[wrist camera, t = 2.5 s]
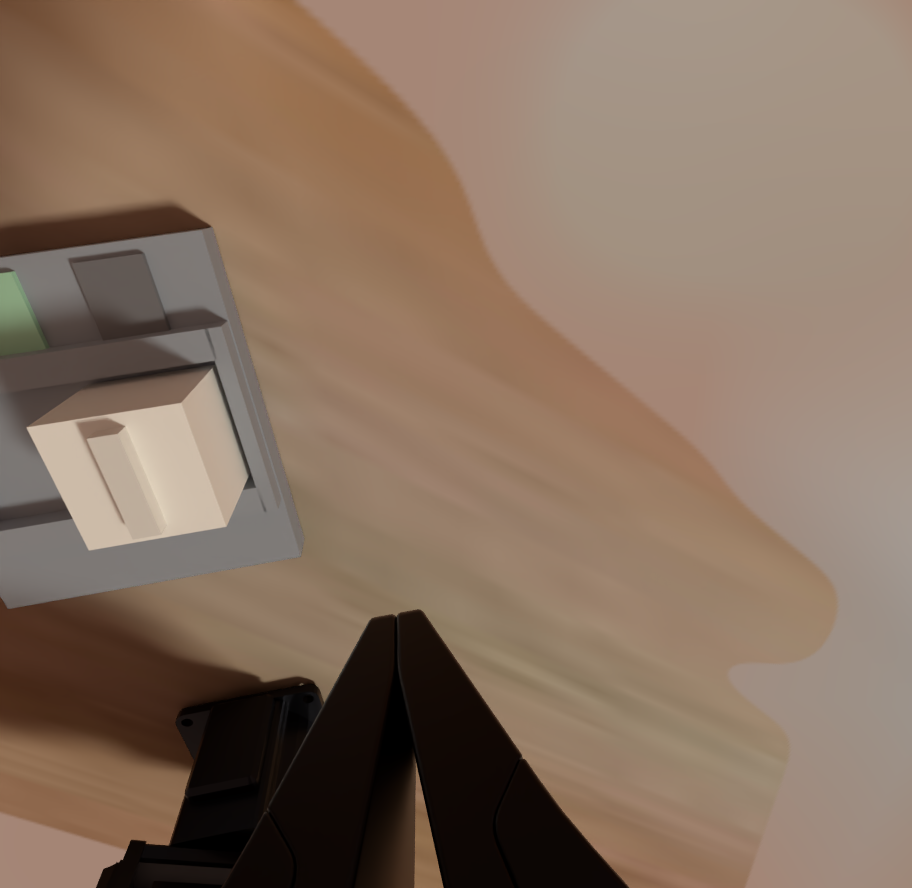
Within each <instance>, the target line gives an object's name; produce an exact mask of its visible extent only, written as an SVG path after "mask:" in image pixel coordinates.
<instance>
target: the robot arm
mask: <svg viewBox="0 0 912 888" xmlns="http://www.w3.org/2000/svg"><path fill="white" fill-rule="evenodd" d="M306 695H310V696H306ZM176 726H177V728H178V730H179V732H180V734H181V736H182V738H183V740H184V741H185V743H186V745H187V747H188V749H189V751H190V753H191V755H192V757H193V759H194V764H193V767H192V770H191V773H190V776H189V779H188V783H187V786H186V789H185V796H184V799H183V802H182V805H181V808H180V812H179V815H178V818H177V821H176V824H175V828H174V831H173V834H172V837H171V840H170V844H169V846H167V845H154V844H146V841H140V840H131V841H130V844H129V846H128V849H127V851H126V853H125V856H124V859H123V860H120V862H119V863H116V864H114V865H112V866H110V867H108V868H105V869H103V872H102V874H101V877H100V879H99V882H98V884H97V887H96V888H414V866H415V785H416V763H417V768H418V773H419V777H420V782H421V786H422V791H423V795H424V800H425V805H426V809H427V814H428V818H429V823H430V827H431V832H432V837H433V841H434V846H435V850H436V855H437V859H438V864H439V868H440V873H441V878H442V882H443V887H444V888H629V887H628V886H627V884H626V883H625V882H624V881H623V880H622V879H621V878H620V877H619V876H618V874H617V873H616V872H615V871H614V870H613V869H612V868H611V867H610V865H609V864H608V863H607V862H606V861H605V860H604V859H603V858H602V857H601V855H600V854H599V853H598V852H597V851H596V850H595V849H594V848H593V846H592V845H591V844H590V843H589V842H588V841H587V839H586V838H585V837H584V836H583V835H582V833H581V832H580V831H579V830H578V829H577V828H576V826H575V825H574V824H573V823H572V822H571V820H570V819H569V818H568V817H567V816H566V814H565V813H564V812H563V811H562V809H561V808H560V807H559V805H558V804H557V803H556V801H555V800H554V799H553V797H552V796H551V795H550V793H549V792H548V791H547V789H546V788H545V787H544V785H543V784H542V783H541V781H540V780H539V778H538V777H537V775H536V774H535V773H534V771H533V770H532V768H531V767H530V765H529V764H528V762H527V761H526V760H525V759H523V758H522V754H521V753H520V751H519V750H518V748H517V747H516V746H515V744H514V743H513V741H512V740H511V738H510V737H509V735H508V734H507V733H506V731H505V730H504V728H503V727H502V725H501V724H500V722H499V721H498V720H497V718H496V717H495V715H494V714H493V712H492V711H491V709H490V708H489V706H488V705H487V704H486V702H485V701H484V699H483V698H482V696H481V695H480V693H479V692H478V691H477V689H476V688H475V686H474V685H473V683H472V682H471V680H470V679H469V678H468V676H467V675H466V673H465V672H464V670H463V669H462V667H461V666H460V664H459V663H458V662H457V660H456V659H455V657H454V656H453V654H452V653H451V651H450V650H449V649H448V647H447V646H446V644H445V643H444V641H443V640H442V638H441V637H440V636H439V634H438V633H437V631H436V630H435V628H434V627H433V625H432V624H431V622H430V621H429V620H428V618H427V617H426V615H425V614H424V612H423V611H422V610H419V609H417V610H412V611H406V612H401V613H399V614H398V615H397V617H396V616H395V615H393V614H390V615H385V616H380V617H374V618H372V619H371V620H370V621H369V622H368V624H367V626H366V628H365V630H364V631H363V633H362V635H361V637H360V639H359V641H358V642H357V644H356V646H355V648H354V650H353V652H352V653H351V655H350V657H349V659H348V661H347V662H346V664H345V666H344V668H343V670H342V672H341V673H340V675H339V677H338V679H337V681H336V683H335V684H334V686H333V688H332V690H331V692H330V694H329V695H328V697H327V699H326V701H325V703H324V701H323V698H322V695H321V692H320V690H319V688H318V687H317V686H315V685H312V684H308V685H302V686H296V687H291V688H286V689H281V690H276V691H271V692H265V693H260V694H255V695H250V696H245V697H240V698H234V699H229V700H224V701H219V702H214V703H209V704H203V705H198V706H193V707H188V708H184V709H182V710H181V711H180V712H179V714H178V717H177V719H176ZM415 759H416V762H415Z"/></svg>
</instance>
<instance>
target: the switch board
mask: <svg viewBox="0 0 912 888" xmlns="http://www.w3.org/2000/svg"><path fill="white" fill-rule="evenodd" d="M210 365H216V368H217V371H218V374H219V377H220V380H221V383H222V386H223V389H224V392H225V396H226V399H227V402H228V405H229V408H230V411H231V414H232V417H233V420H234V423H235V426H236V429H237V432H238V435H239V438H240V441H241V445H242V448H243V451H244V454H245V457H246V460H247V463H248V466H249V469H250V474H249V477H248V479H247V481H246V483H245V486H244V488H243V490H242V493H241V495H240V497H239V499H238V502H237V504H236V506H235V509H234V511H233V513H232V515H231V518H230V520H229V522H228V525H227V527H222V528H216V529H211V530H205V531H199V532H193V533H188V534H182V535H176V536H170V537H165V538H159V539H153V540H147V541H142V542H136V543H130V544H124V545H119V546H113V547H107V548H101V549H95V550H90V551H89V550H88V548H87V546H86V544H85V542H84V540H83V538H82V536H81V534H80V532H79V530H78V528H77V526H76V524H75V522H74V520H73V518H72V516H71V514H70V512H69V510H68V508H67V506H66V504H65V503H64V501H63V499H62V497H61V495H60V493H59V491H58V489H57V487H56V485H55V483H54V481H53V479H52V477H51V475H50V473H49V471H48V469H47V467H46V465H45V463H44V461H43V459H42V457H41V455H40V453H39V451H38V449H37V447H36V445H35V444H34V442H33V440H32V438H31V436H30V434H29V432H28V430H27V428H26V427H28V426H29V425H31V424H32V423H33V422H35V421H36V420H38V419H39V418H41V417H42V416H44V415H45V414H46V413H48V412H49V411H51V410H52V409H54V408H55V407H57V406H58V405H59V404H61V403H62V402H64V401H65V400H67V399H68V398H69V397H71V396H72V395H74V394H75V393H77V392H78V391H80V390H81V389H82V388H84V387H85V386H87V385H88V384H93V383H100V382H106V381H113V380H119V379H126V378H132V377H139V376H145V375H152V374H158V373H164V372H171V371H177V370H184V369H190V368H197V367H203V366H210ZM303 544H304V536H303V532H302V529H301V526H300V522H299V519H298V515H297V512H296V509H295V505H294V502H293V499H292V495H291V492H290V488H289V485H288V482H287V478H286V475H285V471H284V468H283V465H282V461H281V458H280V455H279V451H278V448H277V444H276V441H275V438H274V434H273V431H272V427H271V424H270V421H269V417H268V414H267V410H266V407H265V404H264V400H263V397H262V394H261V390H260V387H259V383H258V380H257V377H256V373H255V370H254V366H253V363H252V360H251V356H250V353H249V350H248V346H247V343H246V339H245V336H244V333H243V329H242V326H241V322H240V319H239V316H238V312H237V309H236V306H235V302H234V299H233V295H232V292H231V289H230V285H229V282H228V278H227V275H226V272H225V268H224V265H223V261H222V258H221V255H220V251H219V248H218V245H217V241H216V238H215V234H214V231H213V228H212V227H209V228H202V229H195V230H188V231H181V232H173V233H166V234H159V235H152V236H145V237H137V238H130V239H123V240H116V241H109V242H102V243H94V244H87V245H80V246H73V247H66V248H58V249H51V250H44V251H37V252H30V253H23V254H15V255H8V256H1V257H0V597H1V598H2V600H3V602H4V603H5V605H6V606H7V608H8V609H11V608H17V607H22V606H28V605H34V604H39V603H45V602H50V601H56V600H62V599H67V598H73V597H78V596H84V595H90V594H95V593H101V592H106V591H112V590H118V589H123V588H129V587H134V586H140V585H146V584H151V583H157V582H162V581H168V580H174V579H179V578H185V577H190V576H196V575H202V574H207V573H213V572H218V571H224V570H230V569H235V568H241V567H246V566H252V565H258V564H263V563H269V562H274V561H280V560H286V559H291V558H297V557H301V554H302V549H303Z"/></svg>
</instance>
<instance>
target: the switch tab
mask: <svg viewBox="0 0 912 888" xmlns="http://www.w3.org/2000/svg"><path fill="white" fill-rule="evenodd" d="M26 428H27V430H28V432H29V434H30V436H31V438H32V440H33V442H34V444H35V445H36V447H37V449H38V451H39V453H40V455H41V457H42V459H43V461H44V463H45V465H46V467H47V469H48V471H49V473H50V475H51V477H52V479H53V481H54V483H55V485H56V487H57V489H58V491H59V493H60V495H61V497H62V499H63V501H64V503H65V504H66V506H67V508H68V510H69V512H70V514H71V516H72V518H73V520H74V522H75V524H76V526H77V528H78V530H79V532H80V534H81V536H82V538H83V540H84V542H85V544H86V546H87V548H88V550H89V551H90V550H95V549H101V548H107V547H113V546H119V545H124V544H130V543H136V542H142V541H147V540H153V539H159V538H165V537H170V536H176V535H182V534H188V533H193V532H199V531H205V530H211V529H216V528H222V527H227V525H228V522H229V520H230V518H231V515H232V513H233V511H234V509H235V506H236V504H237V502H238V499H239V497H240V495H241V493H242V490H243V488H244V486H245V483H246V481H247V479H248V477H249V474H250V469H249V466H248V463H247V460H246V457H245V454H244V451H243V448H242V445H241V441H240V438H239V435H238V432H237V429H236V426H235V423H234V420H233V417H232V414H231V411H230V408H229V405H228V402H227V399H226V396H225V392H224V389H223V386H222V383H221V380H220V377H219V374H218V371H217V368H216V365H210V366H203V367H197V368H190V369H184V370H177V371H171V372H164V373H158V374H152V375H145V376H139V377H132V378H126V379H119V380H113V381H106V382H100V383H93V384H88V385H87V386H85V387H84V388H82V389H81V390H80V391H78V392H77V393H75V394H74V395H72V396H71V397H69V398H68V399H67V400H65V401H64V402H62V403H61V404H59V405H58V406H57V407H55V408H54V409H52V410H51V411H49V412H48V413H46V414H45V415H44V416H42V417H41V418H39V419H38V420H36V421H35V422H33V423H32V424H31V425H29V426H28V427H26Z"/></svg>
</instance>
